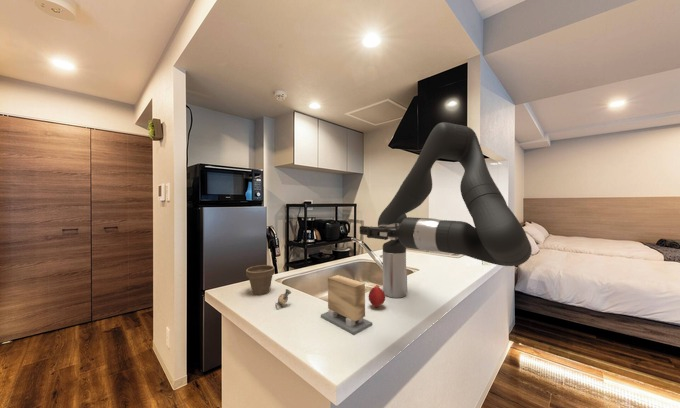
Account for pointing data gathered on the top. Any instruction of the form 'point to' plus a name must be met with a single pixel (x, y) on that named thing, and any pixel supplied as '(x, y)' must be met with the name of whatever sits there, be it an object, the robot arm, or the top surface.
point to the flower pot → (260, 278)
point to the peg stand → (346, 322)
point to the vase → (283, 299)
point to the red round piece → (376, 296)
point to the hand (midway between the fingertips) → (370, 228)
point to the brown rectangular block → (346, 297)
